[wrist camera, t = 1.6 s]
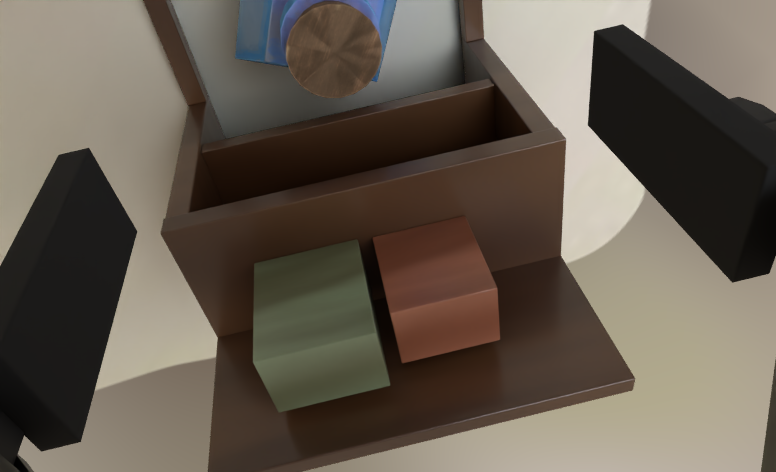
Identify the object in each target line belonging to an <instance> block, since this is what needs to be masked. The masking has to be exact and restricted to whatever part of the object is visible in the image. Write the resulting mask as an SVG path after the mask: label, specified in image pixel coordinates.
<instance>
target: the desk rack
mask: <svg viewBox="0 0 776 472" xmlns="http://www.w3.org/2000/svg"><path fill="white" fill-rule="evenodd" d="M143 1H144V4H145V6H146V8H147V11H148V13H149V15H150V18H151V20H152V22H153V25H154V27H155V29H156V32H157V34H158V36H159V39H160V41H161V43H162V46H163V48H164V50H165V53H166V55H167V57H168V60H169V62H170V64H171V67H172V69H173V71H174V74H175V76H176V78H177V81H178V83H179V85H180V88H181V90H182V92H183V95H184V97H185V99H186V102H187V104H188V106H189V107H188V112H187V117H186V122H185V127H184V131H183V136H182V141H181V146H180V151H179V155H178V160H177V165H176V170H175V174H174V179H173V184H172V189H171V194H170V198H169V203H168V208H167V213H166V218H165V219H164V220H163V224H162V229H161V235H162V237H163V239H164V241H165V243H166V244H167V246H168V248H169V250H170V252H171V254H172V255H173V257H174V259H175V261H176V263H177V264H178V266H179V268H180V270H181V272H182V274H183V275H184V277H185V279H186V281H187V283H188V284H189V286H190V288H191V290H192V292H193V294H194V295H195V297H196V299H197V301H198V303H199V304H200V306H201V308H202V310H203V312H204V314H205V315H206V317H207V319H208V321H209V323H210V324H211V326H212V328H213V330H214V332H215V333H216V335H217V337H218V342H217V355H216V369H215V382H214V396H213V409H212V423H211V436H210V449H209V451H210V452H209V463H208V472H302V471H306V470H310V469H314V468H318V467H322V466H327V465H331V464H335V463H339V462H342V461H347V460H351V459H355V458H359V457H363V456H367V455H371V454H375V453H379V452H384V451H388V450H392V449H396V448H400V447H404V446H408V445H412V444H416V443H420V442H424V441H428V440H432V439H436V438H441V437H444V436H448V435H453V434H457V433H460V432H465V431H469V430H473V429H477V428H481V427H485V426H489V425H493V424H498V423H502V422H506V421H509V420H514V419H518V418H522V417H526V416H530V415H534V414H538V413H542V412H546V411H550V410H554V409H559V408H563V407H567V406H571V405H575V404H579V403H583V402H587V401H591V400H595V399H599V398H603V397H607V396H612V395H616V394H619V393H624V392H628V391H632V390H633V386H634V382H635V378H634V376H633V374H632V373H631V371H630V369H629V368H628V366H627V364H626V363H625V361H624V359H623V358H622V356H621V355H620V353H619V351H618V350H617V348H616V346H615V345H614V343H613V341H612V340H611V338H610V336H609V335H608V333H607V331H606V330H605V328H604V326H603V325H602V323H601V322H600V320H599V318H598V316H597V315H596V313H595V312H594V310H593V308H592V307H591V305H590V303H589V302H588V300H587V298H586V297H585V295H584V293H583V292H582V290H581V289H580V287H579V285H578V283H577V282H576V280H575V278H574V277H573V275H572V274H571V272H570V270H569V269H568V267H567V266H566V264H565V262H564V260H563V259H562V257H561V239H562V217H563V195H564V173H565V150H566V138H565V137H564V136H563V135H562V133H561V132H560V131H559V130H558V128H556V127H554V126H553V124H552V123H551V122H550V121H549V119H548V118H547V117H546V116H545V114H544V113H543V112H542V111H541V109H540V108H539V107H538V106H537V104H536V103H535V102H534V101H533V99H532V98H531V97H530V96H529V94H528V93H527V92H526V91H525V89H524V88H523V87H522V86H521V85H520V83H519V82H518V81H517V80H516V78H515V77H514V76H513V75H512V73H511V72H510V71H509V70H508V68H507V67H506V66H505V65H504V63H503V62H502V61H501V60H500V58H499V57H498V56H497V55H496V53H495V52H494V51H493V50H492V48H491V47H490V46H489V45H488V43H487V42H486V41H485V40H484V29H483V11H482V0H459V10H460V22H461V35H462V47H463V59H464V72H465V84H463V85H459V86H454V87H450V88H446V89H441V90H437V91H432V92H428V93H424V94H419V95H415V96H411V97H406V98H402V99H398V100H393V101H389V102H385V103H380V104H376V105H372V106H367V107H363V108H359V109H354V110H350V111H346V112H341V113H337V114H333V115H328V116H324V117H319V118H315V119H311V120H306V121H302V122H298V123H293V124H289V125H285V126H280V127H276V128H272V129H267V130H263V131H259V132H254V133H250V134H246V135H241V136H237V137H233V138H228V139H225V136H224V134H223V131H222V129H221V126H220V124H219V121H218V119H217V116H216V114H215V111H214V109H213V106H212V104H211V101H210V99H209V96H208V95H207V94H208V93H207V91H206V88H205V86H204V83H203V81H202V78H201V76H200V73H199V71H198V68H197V66H196V63H195V60H194V58H193V55H192V53H191V50H190V48H189V45H188V43H187V40H186V38H185V35H184V33H183V30H182V28H181V25H180V23H179V20H178V18H177V15H176V13H175V10H174V8H173V5H172V3H171V0H143Z"/></svg>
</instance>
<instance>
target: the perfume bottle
mask: <svg viewBox="0 0 776 472" xmlns="http://www.w3.org/2000/svg"><path fill="white" fill-rule="evenodd" d="M396 2H397V0H240V8H239V20H238V32H237V43H236V55H235V59H241V60H247V61H253V62H259V63H265V64H272V65H278V66H284V67H289V69H290V72H291V74H292V75H293V77H294V78H295V79H296V80H297V82H298V83H299V84H300V86H302V87H303V88H305V89H306V90H308V91H309V92H311V93H312V94H315V95H319V96H322V97H325V98H342V97H345V96H349V95H352V94H355V93H356V92H358V91H359V90H361V89H363V88H364V87H366V86H367V85H368V83H369V82H370V81H375V82H377V80H378V76H379V72H380V68H381V63H382V59H383V55H384V51H385V47H386V43H387V39H388V35H389V31H390V27H391V23H392V18H393V14H394V10H395V6H396Z"/></svg>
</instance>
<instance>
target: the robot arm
mask: <svg viewBox="0 0 776 472" xmlns="http://www.w3.org/2000/svg"><path fill="white" fill-rule="evenodd" d="M588 126H589V127H590V128H591V129H592V130H593V131H594V132H595V133H596V134H597V136H598V137H599V138H600V139H601V140H602V141H603V142H604V143H605V144H606V145H607V146H608V148H609V149H610V150H611V151H612V152H613V153H614V154H615V155H616V156H617V157H618V158H619V160H620V161H621V162H622V163H623V164H624V165H625V166H626V167H627V168H628V169H629V170H630V172H631V173H632V174H633V175H634V176H635V177H636V178H637V179H638V180H639V181H640V182H641V184H642V185H643V186H644V187H645V188H646V189H647V190H648V191H649V192H650V193H651V194H652V196H653V197H654V198H656V200H657V201H658V202H659V203H660V204H661V205H662V206H663V208H664V209H666V211H667V212H668V213H669V214H670V215H671V216H672V217H673V218H674V219H675V221H676V222H677V223H678V224H679V225H680V226H681V227H682V228H683V229H684V230H685V231H686V233H687V234H688V235H689V236H690V237H691V238H692V239H693V240H694V241H695V242H696V243H697V245H698V246H700V248H701V249H702V250H703V251H704V252H705V253H706V254H707V255H708V256H709V258H710V259H711V260H712V261H713V262H714V263H715V264H716V265H717V266H718V267H719V268H720V270H721V271H722V272H723V273H724V274H725V275H726V276H727V277H728V278H729V279H730V281H732V282H737V281H741V280H745V279H749V278H753V277H757V276H761V275H766V274H769V273H770V270H771V267H772V265H773V262H774V259H775V256H776V113H774V112H773V111H771V110H770V109H768V108H767V107H765V106H764V105H761V104H758V103H755V102H753V101H749V100H747V99H744V98H741V97H736V98H732V99H728V98H726V97H725V96H724V95H722V94H721V93H719V92H718V91H717V90H715V89H714V88H712V87H711V86H709V85H708V84H707V83H705V82H704V81H702V80H701V79H699V78H698V77H696V76H695V75H694V74H692V73H691V72H690V71H688V70H687V69H685V68H684V67H683V66H681V65H680V64H678V63H677V62H675V61H674V60H672V59H671V58H670V57H668V56H667V55H666V54H664V53H663V52H661V51H660V50H658V49H657V48H656V47H654V46H653V45H651V44H650V43H648V42H647V41H646V40H644V39H643V38H641V37H640V36H639V35H637V34H636V33H634V32H633V31H632V30H630V29H629V28H627V27H626V26H624V25H618V26H614V27H610V28H606V29H601V30H597V31H594V42H593V57H592V72H591V87H590V102H589V117H588ZM136 234H137V230H136V228H135V227H134V225H133V223H132V221H131V220H130V218H129V216H128V215H127V213H126V211H125V209H124V208H123V206H122V204H121V202H120V201H119V199H118V197H117V196H116V194H115V192H114V190H113V189H112V187H111V185H110V183H109V182H108V180H107V178H106V177H105V175H104V173H103V171H102V170H101V168H100V166H99V164H98V163H97V161H96V159H95V158H94V156H93V154H92V152H91V151H90V149H89V148H86V149H82V150H78V151H73V152H69V153H65V154H60V155H58V157H57V159H56V161H55V163H54V165H53V167H52V169H51V170H50V172H49V174H48V176H47V178H46V180H45V182H44V184H43V186H42V188H41V190H40V191H39V193H38V195H37V197H36V199H35V201H34V203H33V205H32V207H31V209H30V210H29V212H28V214H27V216H26V218H25V220H24V222H23V224H22V226H21V228H20V230H19V231H18V233H17V235H16V237H15V239H14V241H13V243H12V245H11V247H10V249H9V250H8V252H7V254H6V256H5V258H4V260H3V262H2V264H1V266H0V472H34V471H33V470H32V469H31V467H30V466H29V465H28V463H27V462H26V461H25V460H24V459H22V458H21V457H20V456H19V455H18V451H19V448H20V445H21V443H22V440H23V437H24V435H25V436H26V437H27V438H28V439H29V440H30V441H31V442H32V443H33V444H34V445H35V446H36V447H37V448H38V449H39V450H40V451H45V450H49V449H53V448H57V447H62V446H65V445H70V444H74V443H78V442H81V439H82V435H83V431H84V428H85V424H86V420H87V416H88V413H89V409H90V405H91V401H92V398H93V394H94V390H95V387H96V383H97V379H98V375H99V372H100V368H101V364H102V361H103V357H104V353H105V349H106V346H107V342H108V338H109V334H110V331H111V327H112V323H113V320H114V316H115V312H116V308H117V305H118V301H119V297H120V293H121V290H122V286H123V282H124V279H125V275H126V271H127V267H128V264H129V260H130V256H131V252H132V249H133V245H134V241H135V238H136ZM761 472H776V361H775V369H774V376H773V384H772V392H771V400H770V408H769V415H768V422H767V430H766V438H765V445H764V453H763V460H762V468H761Z"/></svg>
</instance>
